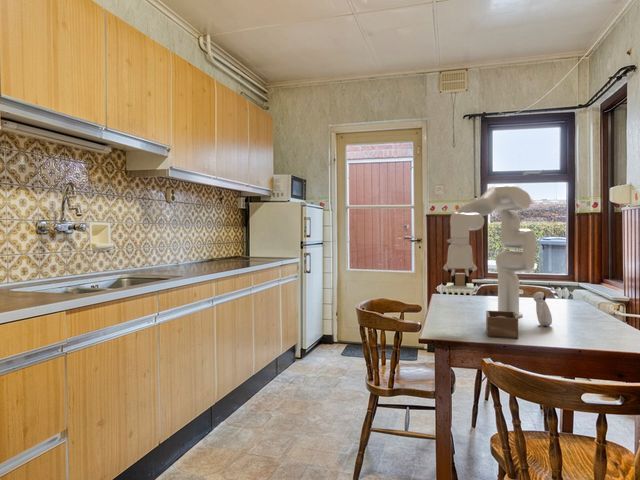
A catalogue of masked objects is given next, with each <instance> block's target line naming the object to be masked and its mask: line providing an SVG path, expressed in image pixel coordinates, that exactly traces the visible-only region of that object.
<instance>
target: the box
mask: <svg viewBox="0 0 640 480" xmlns="http://www.w3.org/2000/svg"><path fill="white" fill-rule="evenodd" d="M485 312H486V313H485V315H486V318H485V319H486V322H485V323H486V324H485V325H486V335H487V337H488V338H495V339H496V338H497V339H509V340H511V339H512V340H519V317H517V316H516V314H515V312H507V311H498V310H486V311H485Z"/></svg>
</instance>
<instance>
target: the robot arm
mask: <svg viewBox="0 0 640 480" xmlns="http://www.w3.org/2000/svg"><path fill="white" fill-rule="evenodd" d="M531 202H532V200H531V196H530V194H529V192H527V191H525V190H524V189H522V188H520V186H517V185H515V184H503V185H494V186H491V187H489V188H488V189H487V190H486V191H485V192H484V193H483V194H482V195H481V196H480V197H479V198H478V199H475V200H473V201H471V202H469V203H466V204H465V205H462V206H461V207H459V208H458V209H456V210H455V212H454V213H451V215H450V221H449V223H450V224H449V225H450V238H449V239H446V241H447V243H448V244H450V245H448V249H447V258H446V259H447V261H446V263H445V264H444V265H443V267H442V269H443V270H445V271H446V272H447V273H449V274H450V276H451V283H453V285H455V273H456V272H455V271H456V270H464V273H465V286H467V284H468V283H469V277H470V275H471V274H473V273H474V272H475V271H477V270H478V267H477V265H476V264H475V262H474V258H473V257H474V256H473V248H472V247H473V246H472V245H470V231H478V230H481V229H482V228H483V227H484V224H485V218H484V216H488V215H490V214H492V213H493V212H494V211H495V210H496V211H497V213H498V215H499V216H500V221H501V222H500V223H501V224H500V227H501V228H500V245H501V246H502V248H504V249H513V250H504V251H500V252H498V253H497V255H495V265H496V269H497V309H498V310H497V311H507V312H515V314H516V316H517V317H518V318H521V317H523V313H522V312H520V279H519V276H518V275H517V273H516V272H521V273H522V272H523V273H524V272H525V273H526V272H527V273H528V272H531V271H533V269H534V268H535V264H536V251H537V250H536V249H537V238H536V237H537V236H536V234H535V232H534V231H533V230H532V229H529V228H521V218H520V216H519V214H518V213H517V212H516V211H523V210H527V209H528V208H530V206H531ZM515 249H516V250H515ZM517 249H518V250H519V249H521V250H522V251H517Z"/></svg>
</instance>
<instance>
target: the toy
mask: <svg viewBox="0 0 640 480" xmlns="http://www.w3.org/2000/svg"><path fill="white" fill-rule="evenodd" d="M546 299H547V297H546V294H545V293H544V292H543V291H537V292H535V293H534V294H533V300H534V302H535V303H536V304H535V309H536V310H535V311H536V317H537V321H538V323H539V325H540V326H543V327H548V326H551V325H552V323H553V316H552V312H551V310H550V308H549V305H548V304H547V302H546Z"/></svg>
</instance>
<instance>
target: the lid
mask: <svg viewBox="0 0 640 480" xmlns="http://www.w3.org/2000/svg"><path fill="white" fill-rule="evenodd" d="M454 274H455V285H453V283H452V282H446V286H445V290H469V291H470V290H471V291H472V290H474V289H475V287H474V283H469V282H468V284H467V286H465V274H466V272H454Z"/></svg>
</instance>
